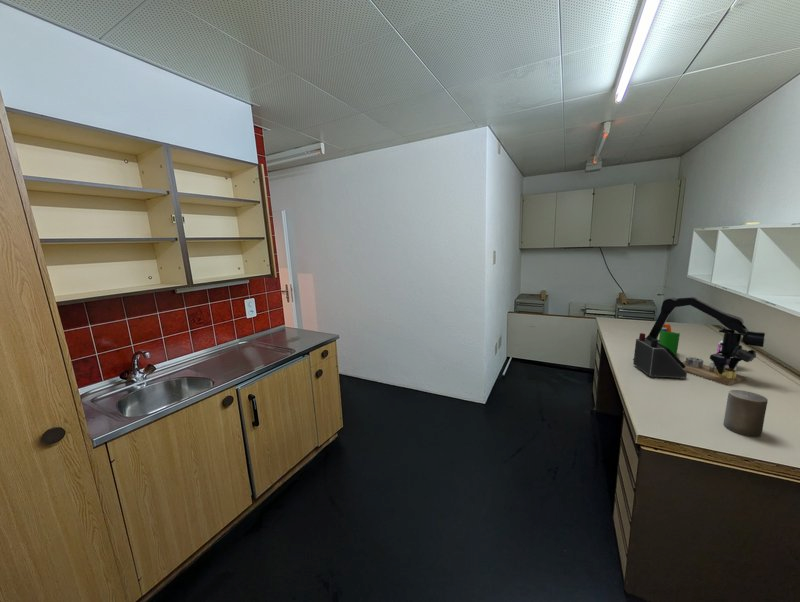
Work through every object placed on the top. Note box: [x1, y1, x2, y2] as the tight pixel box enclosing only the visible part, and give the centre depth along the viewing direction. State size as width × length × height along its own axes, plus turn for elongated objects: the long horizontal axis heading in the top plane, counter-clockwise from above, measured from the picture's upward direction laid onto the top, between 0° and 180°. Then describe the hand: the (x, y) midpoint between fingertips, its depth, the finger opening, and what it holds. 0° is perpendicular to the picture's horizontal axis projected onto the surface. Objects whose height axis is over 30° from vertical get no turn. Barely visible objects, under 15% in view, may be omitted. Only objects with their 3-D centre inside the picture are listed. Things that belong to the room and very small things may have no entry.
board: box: [681, 357, 748, 386], centre depth 161 cm, size 16×24×6 cm, turn 20°
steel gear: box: [685, 356, 704, 369], centre depth 167 cm, size 7×7×4 cm
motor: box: [658, 323, 681, 356], centre depth 186 cm, size 10×9×20 cm
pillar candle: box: [723, 389, 768, 438], centre depth 113 cm, size 10×10×15 cm
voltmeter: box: [632, 332, 688, 380], centre depth 163 cm, size 16×16×20 cm
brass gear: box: [716, 367, 738, 380], centre depth 153 cm, size 7×7×4 cm
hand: (726, 372), depth 153 cm, fingers open, 9 cm apart
